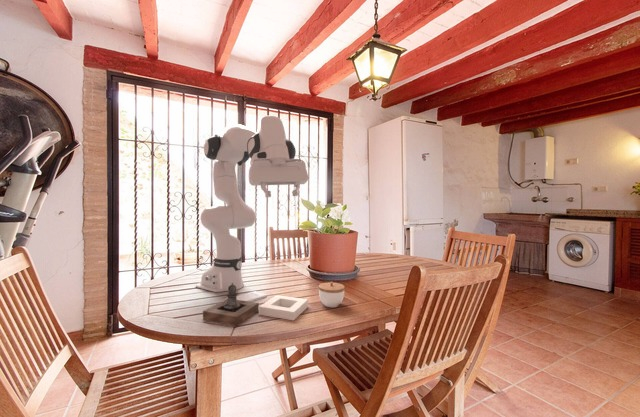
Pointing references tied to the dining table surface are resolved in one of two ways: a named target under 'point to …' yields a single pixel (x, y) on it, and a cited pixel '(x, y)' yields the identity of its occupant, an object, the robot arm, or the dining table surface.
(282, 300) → the off-white holder
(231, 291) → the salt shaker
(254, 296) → the external hard drive
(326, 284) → the lidded jar
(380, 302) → the dining table surface
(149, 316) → the dining table surface
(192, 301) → the dining table surface
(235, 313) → the walnut holder
